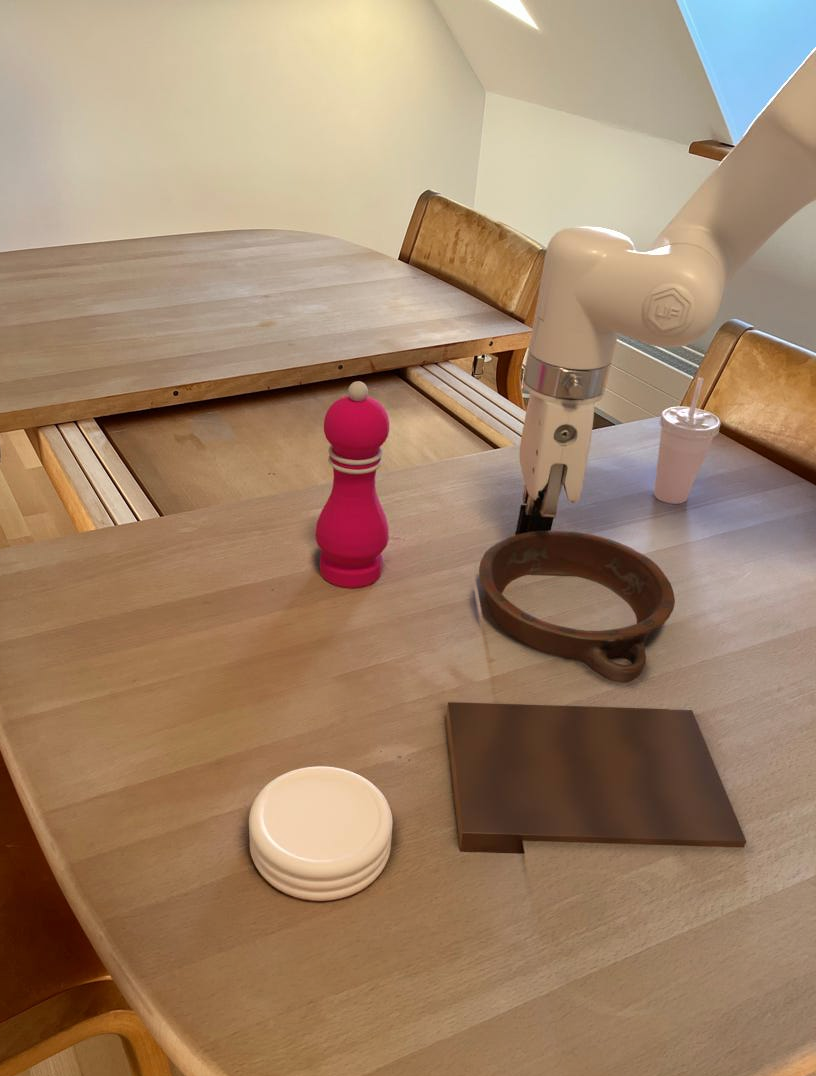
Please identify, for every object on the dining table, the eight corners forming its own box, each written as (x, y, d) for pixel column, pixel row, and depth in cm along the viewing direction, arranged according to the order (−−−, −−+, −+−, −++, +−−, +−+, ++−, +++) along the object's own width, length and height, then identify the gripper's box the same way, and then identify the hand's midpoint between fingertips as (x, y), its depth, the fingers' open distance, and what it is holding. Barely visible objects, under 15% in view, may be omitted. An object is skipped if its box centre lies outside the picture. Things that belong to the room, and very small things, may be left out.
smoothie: (697, 486, 114) (729, 372, 106) (700, 513, 109) (735, 395, 101) (641, 479, 115) (669, 366, 107) (642, 505, 110) (671, 388, 102)
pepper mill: (390, 556, 100) (403, 370, 88) (381, 595, 94) (393, 402, 82) (322, 548, 101) (325, 363, 89) (308, 586, 95) (310, 394, 83)
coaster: (327, 776, 75) (328, 743, 73) (418, 854, 69) (422, 820, 67) (222, 840, 69) (219, 806, 67) (311, 930, 64) (311, 896, 61)
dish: (581, 547, 103) (590, 505, 100) (717, 670, 86) (732, 626, 83) (433, 576, 97) (437, 534, 94) (548, 714, 81) (558, 668, 78)
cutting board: (686, 727, 80) (692, 709, 79) (738, 860, 69) (747, 841, 68) (445, 720, 80) (447, 701, 79) (459, 851, 69) (462, 832, 68)
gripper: (623, 410, 83) (578, 586, 94) (592, 345, 95) (555, 508, 106) (535, 405, 83) (502, 581, 94) (515, 341, 95) (487, 504, 106)
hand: (530, 542), depth 100 cm, fingers closed
